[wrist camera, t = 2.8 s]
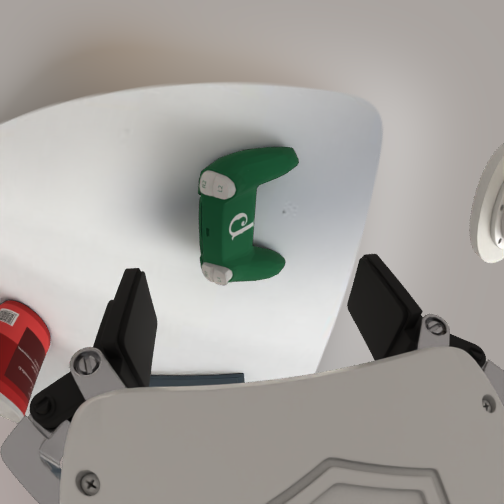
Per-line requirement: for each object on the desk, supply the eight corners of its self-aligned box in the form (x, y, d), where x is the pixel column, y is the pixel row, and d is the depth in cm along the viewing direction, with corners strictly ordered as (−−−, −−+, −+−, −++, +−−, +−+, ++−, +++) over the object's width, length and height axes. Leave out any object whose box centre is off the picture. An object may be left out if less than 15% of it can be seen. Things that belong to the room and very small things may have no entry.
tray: (243, 373, 29) (244, 384, 28) (244, 426, 38) (245, 434, 36) (84, 370, 27) (81, 379, 26) (126, 424, 36) (125, 432, 34)
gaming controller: (256, 138, 18) (187, 148, 14) (305, 148, 16) (240, 159, 12) (248, 253, 23) (192, 285, 19) (287, 272, 21) (234, 313, 17)
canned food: (-7, 311, 21) (-44, 380, 12) (14, 287, 20) (-34, 370, 10) (35, 352, 25) (9, 423, 16) (63, 336, 24) (33, 423, 14)
